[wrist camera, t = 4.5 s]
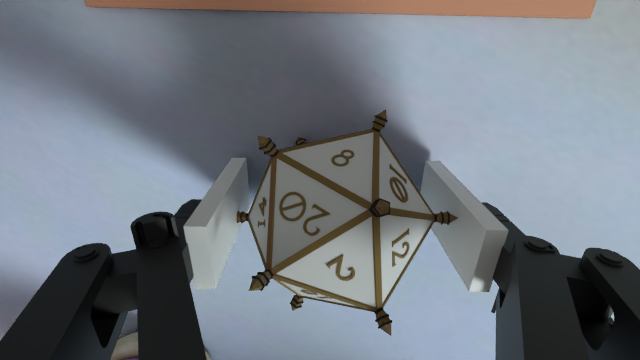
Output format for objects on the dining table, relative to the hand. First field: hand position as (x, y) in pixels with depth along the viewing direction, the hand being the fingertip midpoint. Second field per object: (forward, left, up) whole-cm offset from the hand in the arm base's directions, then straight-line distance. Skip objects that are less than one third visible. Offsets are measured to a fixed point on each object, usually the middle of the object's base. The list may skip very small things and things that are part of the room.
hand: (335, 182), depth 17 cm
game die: (0, 0, -1) cm, 1 cm away
